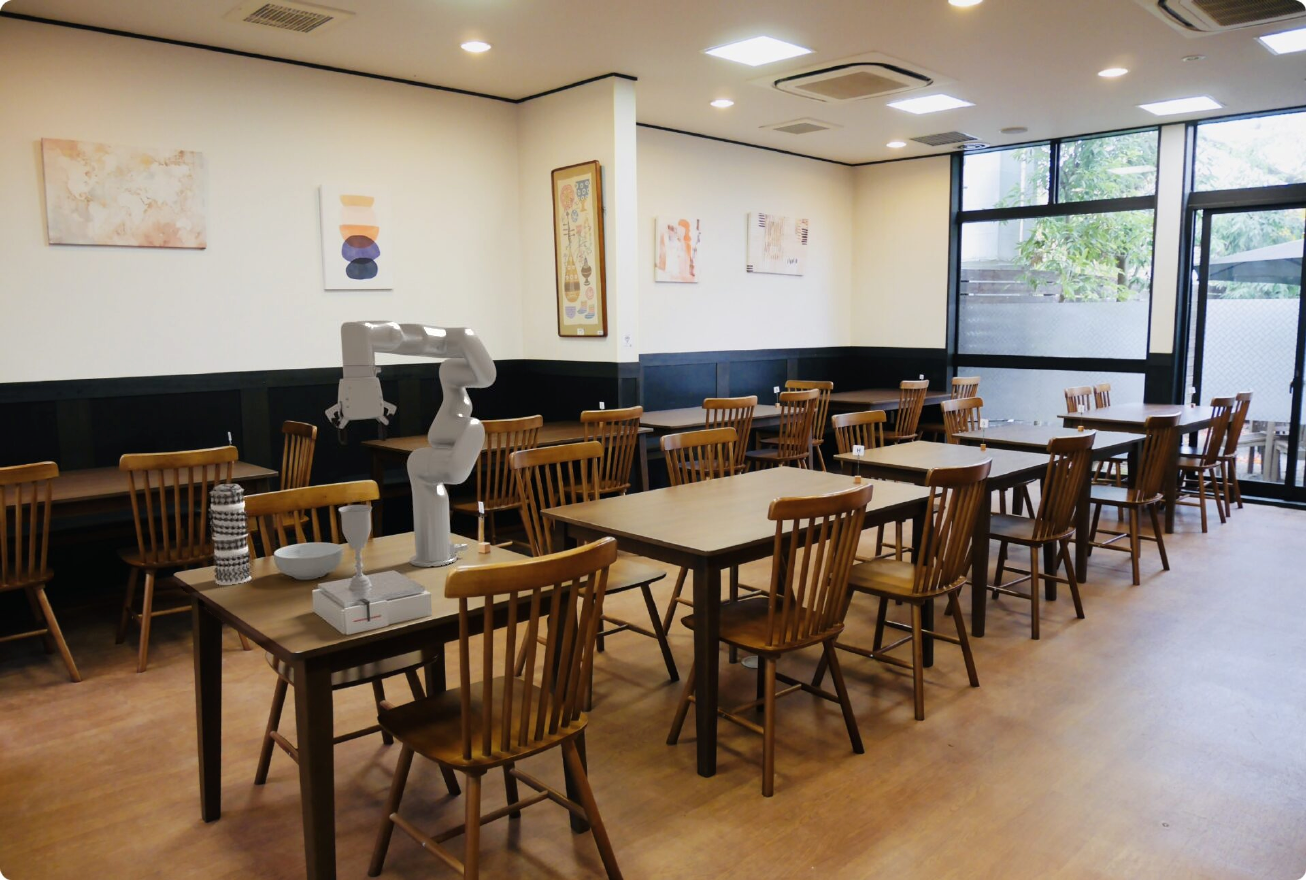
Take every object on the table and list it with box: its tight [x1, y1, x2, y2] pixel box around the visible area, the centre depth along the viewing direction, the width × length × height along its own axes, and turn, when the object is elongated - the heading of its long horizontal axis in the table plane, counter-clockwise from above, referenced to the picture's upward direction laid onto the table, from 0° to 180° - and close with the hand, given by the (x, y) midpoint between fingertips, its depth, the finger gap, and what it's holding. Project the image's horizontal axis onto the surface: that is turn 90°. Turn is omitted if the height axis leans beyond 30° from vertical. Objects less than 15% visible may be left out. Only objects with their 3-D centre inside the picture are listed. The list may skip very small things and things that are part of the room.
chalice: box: [338, 504, 373, 590], centre depth 207 cm, size 7×7×18 cm
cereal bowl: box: [273, 542, 344, 581], centre depth 242 cm, size 17×17×7 cm
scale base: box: [311, 588, 433, 635], centre depth 209 cm, size 20×21×6 cm
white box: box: [317, 569, 426, 621], centre depth 208 cm, size 18×21×6 cm
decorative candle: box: [207, 483, 252, 586], centre depth 237 cm, size 9×9×25 cm
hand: (363, 442), depth 228 cm, fingers open, 9 cm apart
